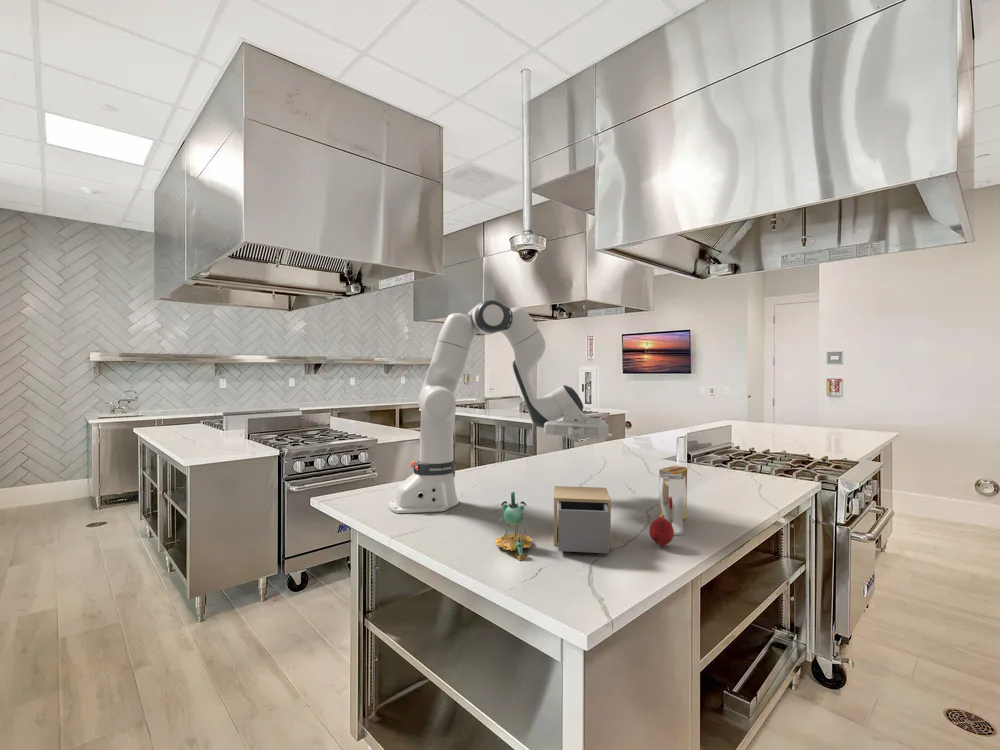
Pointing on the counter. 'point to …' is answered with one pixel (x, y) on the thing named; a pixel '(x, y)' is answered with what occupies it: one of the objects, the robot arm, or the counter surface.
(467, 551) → the counter surface
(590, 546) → the grey open box
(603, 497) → the sleeve
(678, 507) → the beer glass
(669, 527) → the onion
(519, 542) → the frog figurine
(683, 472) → the candy box
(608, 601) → the counter surface
